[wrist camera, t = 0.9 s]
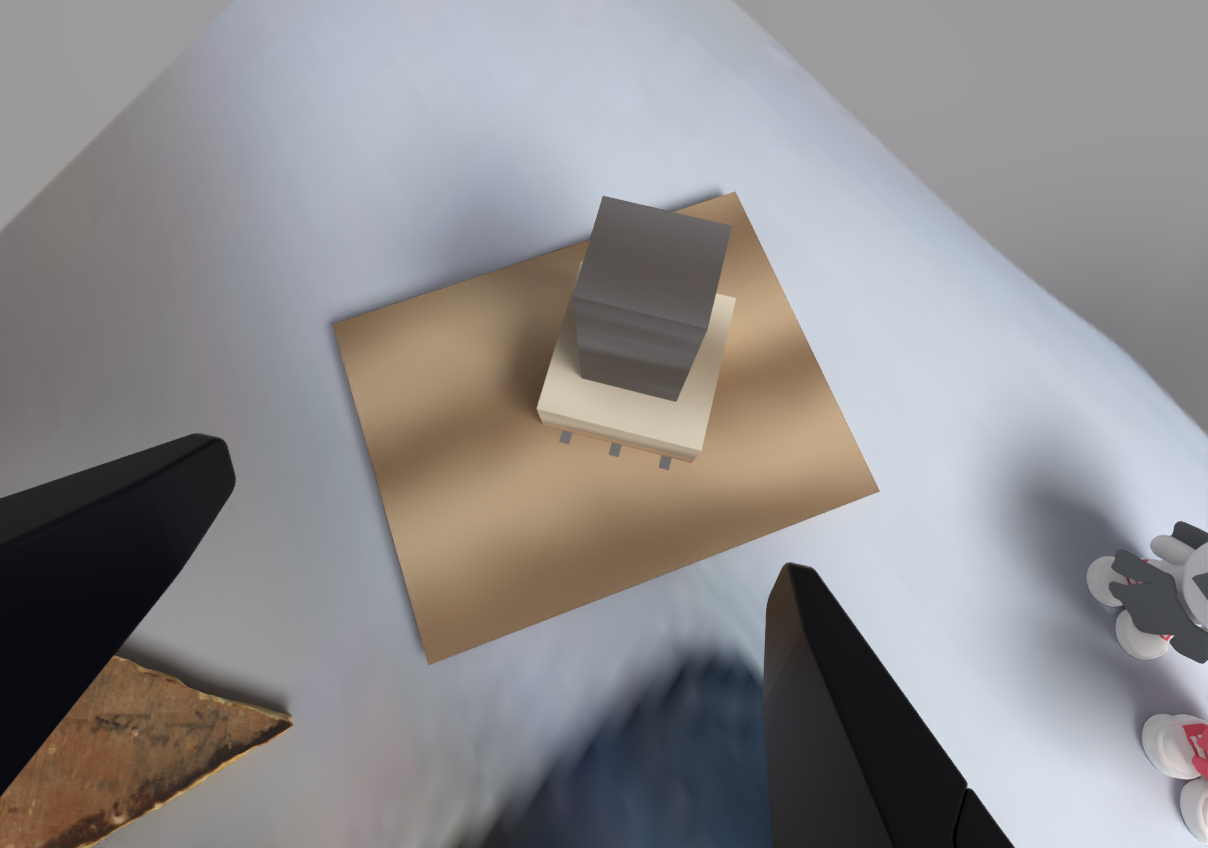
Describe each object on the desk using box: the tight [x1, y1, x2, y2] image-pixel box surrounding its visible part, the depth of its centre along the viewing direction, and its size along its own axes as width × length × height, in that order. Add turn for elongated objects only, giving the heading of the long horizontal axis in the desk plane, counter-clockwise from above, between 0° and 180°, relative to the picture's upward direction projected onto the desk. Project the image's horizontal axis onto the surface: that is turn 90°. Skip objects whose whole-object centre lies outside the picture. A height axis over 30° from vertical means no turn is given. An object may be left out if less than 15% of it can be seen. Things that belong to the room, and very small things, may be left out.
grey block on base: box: [537, 196, 736, 463], centre depth 20 cm, size 6×6×9 cm
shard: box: [0, 656, 293, 848], centre depth 21 cm, size 11×8×2 cm
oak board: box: [333, 192, 879, 665], centre depth 24 cm, size 14×18×1 cm
